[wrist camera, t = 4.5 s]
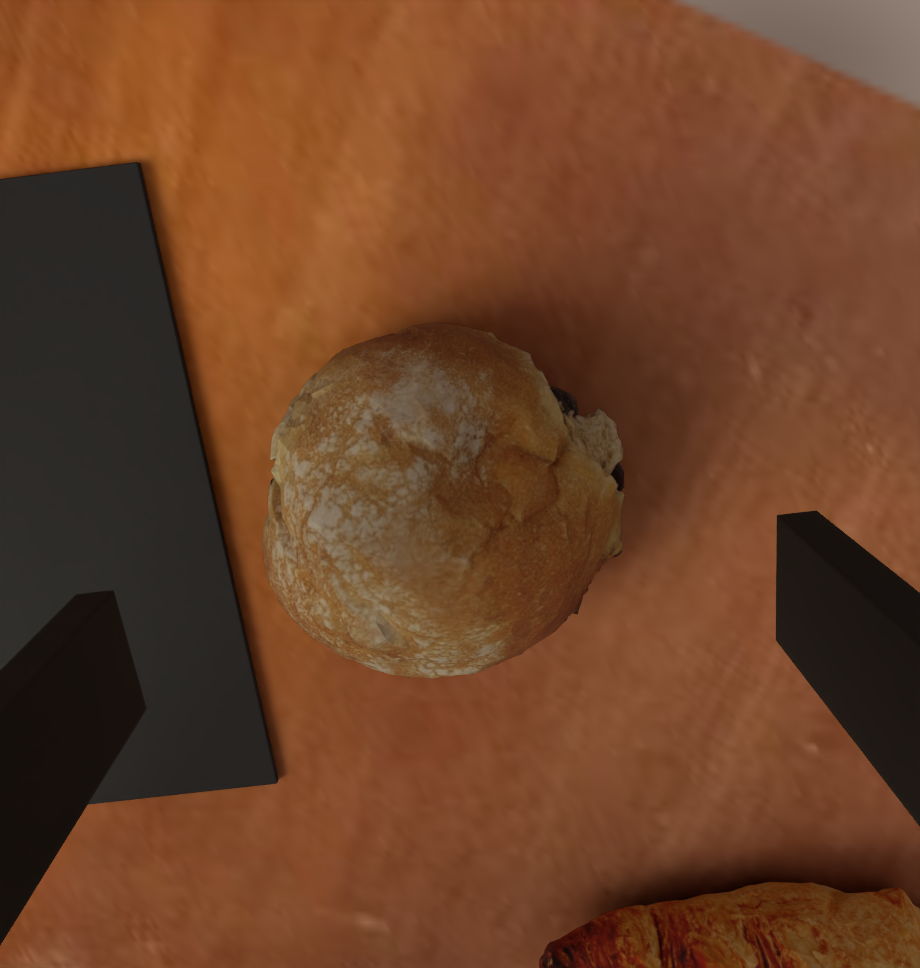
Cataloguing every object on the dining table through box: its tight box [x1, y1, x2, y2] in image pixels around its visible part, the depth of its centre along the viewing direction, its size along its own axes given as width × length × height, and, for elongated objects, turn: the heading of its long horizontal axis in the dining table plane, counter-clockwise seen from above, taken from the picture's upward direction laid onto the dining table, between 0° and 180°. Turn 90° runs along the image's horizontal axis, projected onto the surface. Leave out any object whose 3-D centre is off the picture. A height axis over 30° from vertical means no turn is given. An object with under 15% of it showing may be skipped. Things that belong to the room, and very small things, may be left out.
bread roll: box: [263, 323, 625, 679], centre depth 22 cm, size 10×10×8 cm
